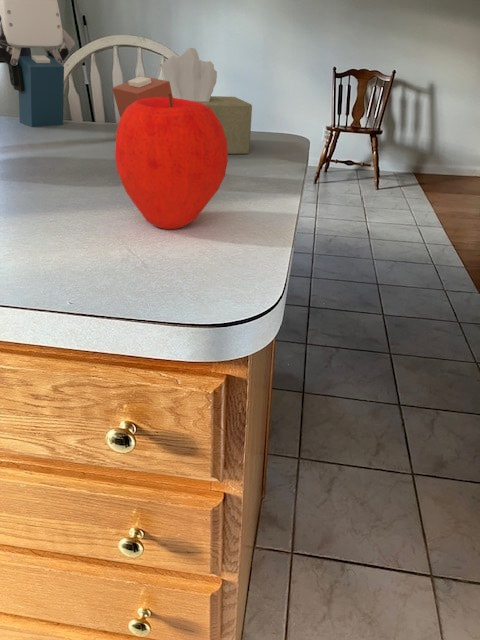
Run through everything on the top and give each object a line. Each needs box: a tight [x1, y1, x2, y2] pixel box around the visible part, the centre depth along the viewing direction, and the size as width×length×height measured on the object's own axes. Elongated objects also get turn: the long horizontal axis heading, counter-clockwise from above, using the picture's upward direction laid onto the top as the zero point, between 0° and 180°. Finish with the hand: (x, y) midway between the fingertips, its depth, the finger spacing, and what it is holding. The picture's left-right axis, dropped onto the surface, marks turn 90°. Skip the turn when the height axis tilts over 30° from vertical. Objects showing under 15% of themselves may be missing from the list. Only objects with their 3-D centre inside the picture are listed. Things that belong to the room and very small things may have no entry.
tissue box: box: [160, 47, 253, 155], centre depth 91 cm, size 19×10×16 cm, turn 107°
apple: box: [114, 94, 229, 230], centre depth 57 cm, size 12×12×13 cm
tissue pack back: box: [18, 54, 65, 128], centre depth 96 cm, size 13×6×5 cm
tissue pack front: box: [111, 76, 173, 119], centre depth 73 cm, size 13×6×5 cm
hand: (37, 88), depth 97 cm, fingers closed on tissue pack back, 6 cm apart
